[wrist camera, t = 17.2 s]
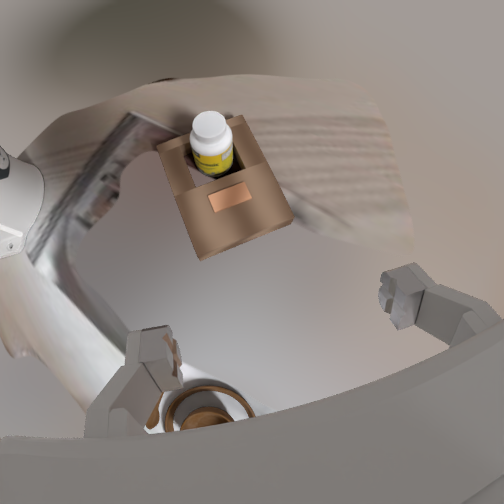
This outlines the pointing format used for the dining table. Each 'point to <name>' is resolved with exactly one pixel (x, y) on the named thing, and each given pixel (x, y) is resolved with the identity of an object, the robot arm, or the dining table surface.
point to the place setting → (197, 411)
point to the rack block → (226, 195)
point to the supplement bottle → (211, 144)
